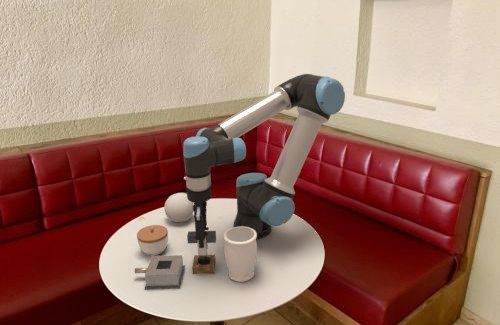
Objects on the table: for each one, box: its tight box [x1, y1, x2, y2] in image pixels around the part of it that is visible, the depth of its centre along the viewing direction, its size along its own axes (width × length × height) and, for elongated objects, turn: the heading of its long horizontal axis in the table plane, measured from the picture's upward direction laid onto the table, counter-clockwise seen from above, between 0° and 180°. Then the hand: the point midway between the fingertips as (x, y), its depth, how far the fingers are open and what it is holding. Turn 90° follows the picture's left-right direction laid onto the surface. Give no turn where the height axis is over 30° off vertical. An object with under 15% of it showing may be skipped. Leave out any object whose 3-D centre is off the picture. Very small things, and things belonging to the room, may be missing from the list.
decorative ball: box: [163, 192, 194, 223], centre depth 156 cm, size 12×12×12 cm
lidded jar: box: [136, 224, 169, 257], centre depth 135 cm, size 11×11×9 cm
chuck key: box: [186, 230, 217, 265], centre depth 125 cm, size 9×3×12 cm, turn 91°
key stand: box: [191, 254, 216, 275], centre depth 127 cm, size 7×7×2 cm
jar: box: [223, 226, 258, 283], centre depth 121 cm, size 11×10×15 cm
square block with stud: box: [134, 254, 186, 290], centre depth 121 cm, size 15×11×5 cm
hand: (203, 251), depth 125 cm, fingers closed on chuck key, 3 cm apart
